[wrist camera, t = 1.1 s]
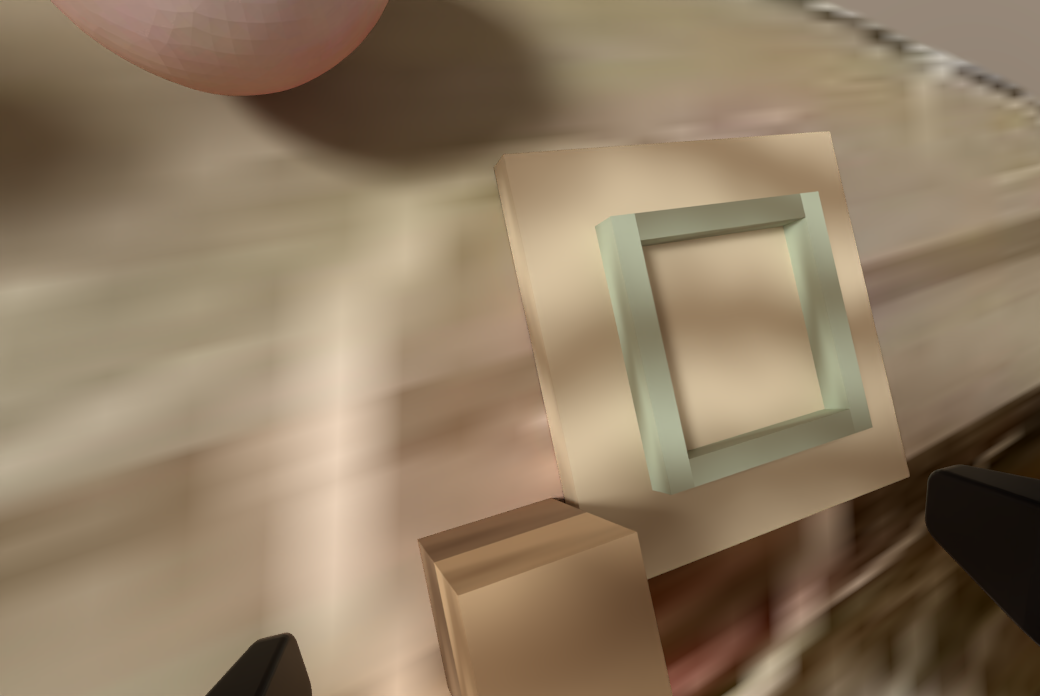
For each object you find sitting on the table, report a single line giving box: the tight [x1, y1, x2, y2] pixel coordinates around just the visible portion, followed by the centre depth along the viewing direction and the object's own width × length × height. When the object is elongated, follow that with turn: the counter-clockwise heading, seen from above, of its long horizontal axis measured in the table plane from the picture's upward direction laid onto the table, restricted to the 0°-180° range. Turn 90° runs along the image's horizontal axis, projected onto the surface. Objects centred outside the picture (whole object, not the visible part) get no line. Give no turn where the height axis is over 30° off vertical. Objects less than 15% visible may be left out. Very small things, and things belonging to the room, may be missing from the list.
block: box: [417, 498, 673, 696], centre depth 17 cm, size 5×5×6 cm
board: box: [494, 131, 910, 579], centre depth 22 cm, size 16×16×2 cm
